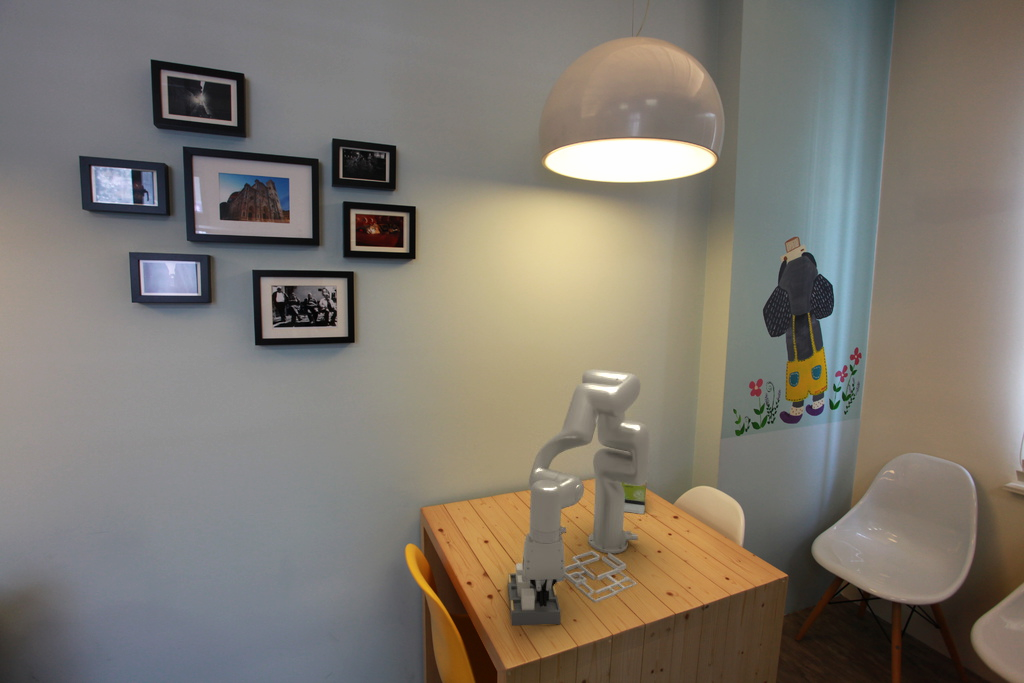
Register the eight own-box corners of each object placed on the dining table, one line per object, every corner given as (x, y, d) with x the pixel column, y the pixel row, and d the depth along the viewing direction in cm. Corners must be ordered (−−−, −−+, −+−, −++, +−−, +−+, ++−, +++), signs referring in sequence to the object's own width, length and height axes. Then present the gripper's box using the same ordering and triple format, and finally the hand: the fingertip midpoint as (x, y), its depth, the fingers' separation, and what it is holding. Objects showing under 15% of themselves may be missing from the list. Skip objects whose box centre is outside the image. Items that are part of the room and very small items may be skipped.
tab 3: (532, 603, 116) (533, 588, 115) (534, 611, 113) (534, 596, 112) (520, 603, 115) (521, 588, 115) (522, 611, 112) (522, 596, 112)
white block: (528, 589, 121) (528, 575, 121) (529, 597, 118) (529, 582, 118) (517, 589, 121) (517, 575, 120) (517, 597, 118) (518, 582, 117)
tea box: (604, 510, 175) (605, 472, 174) (604, 499, 185) (606, 463, 184) (644, 515, 172) (646, 476, 171) (643, 503, 182) (645, 467, 180)
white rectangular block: (526, 577, 126) (526, 563, 126) (527, 583, 124) (527, 569, 123) (515, 577, 126) (515, 563, 126) (516, 584, 123) (516, 569, 123)
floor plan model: (587, 543, 152) (587, 537, 151) (645, 584, 130) (645, 577, 130) (540, 558, 142) (541, 552, 142) (594, 605, 121) (595, 598, 121)
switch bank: (550, 584, 128) (551, 572, 128) (560, 624, 112) (560, 610, 112) (507, 584, 127) (508, 572, 127) (511, 625, 112) (511, 611, 111)
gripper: (571, 524, 117) (569, 592, 118) (513, 525, 116) (511, 594, 117) (578, 539, 109) (575, 612, 111) (515, 540, 108) (513, 613, 110)
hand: (542, 602), depth 114 cm, fingers closed
